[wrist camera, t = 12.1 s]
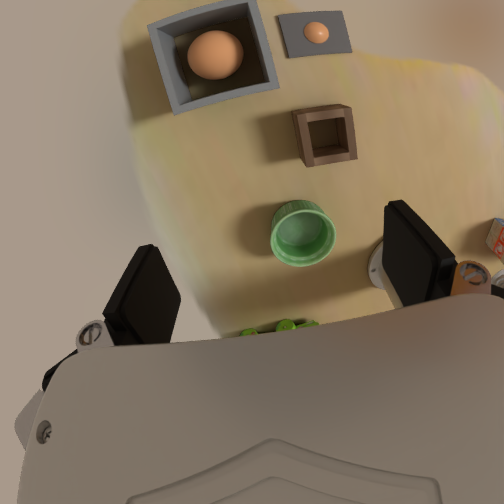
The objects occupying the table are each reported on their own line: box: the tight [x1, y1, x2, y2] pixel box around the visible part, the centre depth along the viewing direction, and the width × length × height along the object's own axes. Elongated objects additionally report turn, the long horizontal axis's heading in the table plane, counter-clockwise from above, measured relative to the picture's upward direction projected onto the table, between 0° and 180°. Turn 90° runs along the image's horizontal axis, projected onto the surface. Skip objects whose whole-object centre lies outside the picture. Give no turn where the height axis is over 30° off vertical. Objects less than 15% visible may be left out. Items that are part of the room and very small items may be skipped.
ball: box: [188, 30, 244, 80], centre depth 24 cm, size 6×6×6 cm
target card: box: [278, 11, 352, 58], centre depth 24 cm, size 8×6×1 cm
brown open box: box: [291, 104, 358, 167], centre depth 30 cm, size 6×6×4 cm
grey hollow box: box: [147, 0, 280, 115], centre depth 23 cm, size 11×11×7 cm
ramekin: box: [270, 200, 336, 267], centre depth 38 cm, size 9×9×4 cm
